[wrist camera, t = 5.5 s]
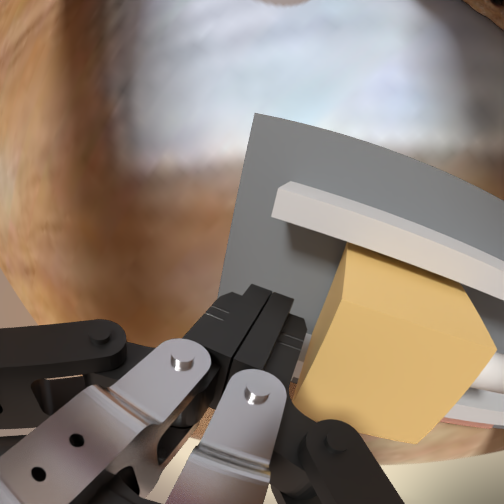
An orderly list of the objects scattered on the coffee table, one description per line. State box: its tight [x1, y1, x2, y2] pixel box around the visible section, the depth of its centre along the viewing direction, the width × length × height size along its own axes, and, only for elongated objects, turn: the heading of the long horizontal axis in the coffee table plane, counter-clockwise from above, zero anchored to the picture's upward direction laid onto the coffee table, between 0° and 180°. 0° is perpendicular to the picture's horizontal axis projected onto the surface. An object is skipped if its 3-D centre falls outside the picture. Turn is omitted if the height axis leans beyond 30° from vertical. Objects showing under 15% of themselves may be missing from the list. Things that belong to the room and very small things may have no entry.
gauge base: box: [217, 113, 504, 429], centre depth 10 cm, size 24×12×4 cm, turn 77°
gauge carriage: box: [292, 242, 504, 444], centre depth 10 cm, size 9×9×5 cm
